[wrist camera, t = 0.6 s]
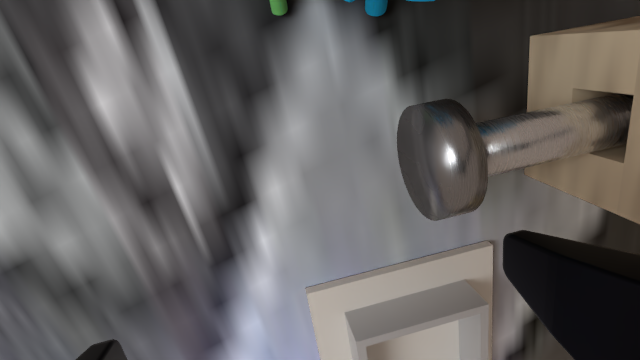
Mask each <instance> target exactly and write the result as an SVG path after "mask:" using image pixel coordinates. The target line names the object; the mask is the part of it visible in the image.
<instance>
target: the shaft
mask: <svg viewBox="0 0 640 360" xmlns="http://www.w3.org/2000/svg"><path fill="white" fill-rule="evenodd" d="M633 97H634V95H630V94H621V93H615V94H611V95H606V96H601V97H597V98H592V99H587V100H583V101H578V102H573V103H569V104H564V105H559V106H554V107H550V108H545V109H540V110H536V111H531V112H526V113H522V114H517V115H512V116H508V117H503V118H498V119H494V120H489V121H484V122H480V123H475V122H474V120H473V118H472V117H471V115H470V114H469V112H468V111H467V110H466V109H465V108H464V107H463V106H462V105H461V104H460V103H458V102H456V101H455V100H452V99H442V100H437V101H432V102H427V103H422V104H417V105H412V106H409V107H407V108H406V109H405V110H404V111H403V113H402V115H401V117H400V120H399V124H398V131H397V150H398V158H399V164H400V168H401V172H402V176H403V179H404V182H405V185H406V188H407V190H408V193H409V195H410V197H411V199H412V201H413V202H414V204H415V206H416V207H417V208H418V210H419V211H420V212H421V213H422V214H423V215H424V216H425V217H426V218H428V219H430V220H433V221H437V220H441V219H445V218H449V217H453V216H457V215H461V214H465V213H469V212H472V211H474V210H476V209H477V208H478V207H479V206H480V204H481V203H482V201H483V199H484V196H485V193H486V189H487V183H488V176H492V175H497V174H501V173H505V172H509V171H514V170H518V169H522V168H526V167H531V166H535V165H539V164H543V163H548V162H552V161H556V160H560V159H565V158H569V157H573V156H577V155H581V154H586V153H590V152H594V151H598V150H603V149H607V148H611V147H615V146H620V145H624V144H627V139H628V132H629V125H630V118H631V111H632V104H633Z"/></svg>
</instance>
